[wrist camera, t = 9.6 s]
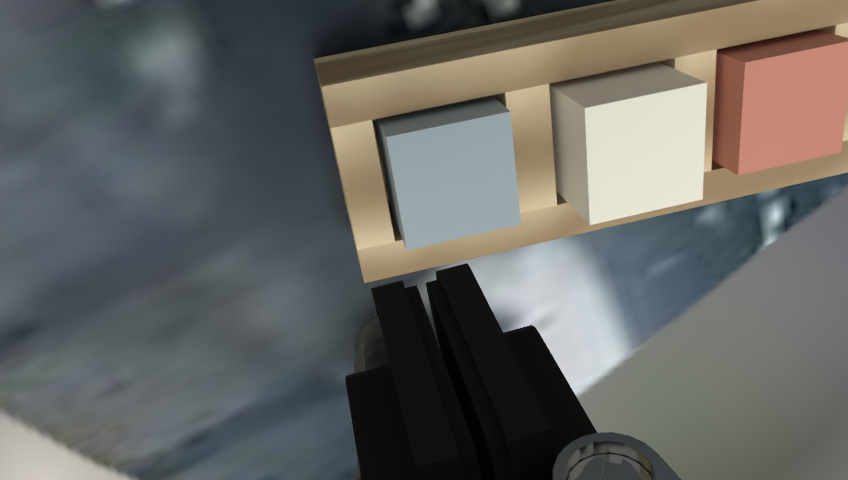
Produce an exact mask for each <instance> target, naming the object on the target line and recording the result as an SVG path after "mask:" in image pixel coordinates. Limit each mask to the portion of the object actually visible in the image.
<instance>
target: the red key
mask: <svg viewBox="0 0 848 480" xmlns="http://www.w3.org/2000/svg"><path fill="white" fill-rule="evenodd" d="M847 104H848V38H847V37H843V36H839V35H834V34H830V33H826V32H822V31H818V30H809V31H804V32H799V33H794V34H789V35H784V36H780V37H775V38H770V39H765V40H760V41H755V42H750V43H745V44H740V45H736V46H731V47H726V48H721V49H717V53H716V75H715V98H714V121H713V144H712V160H713V161H714V162H716V163H718V164H720V165H721V166H723V167H725V168H726V169H728V170H730V171H731V172H733V173H735V174H737V175H742V174H747V173H751V172H755V171H760V170H764V169H769V168H773V167H777V166H782V165H786V164H791V163H795V162H800V161H804V160H808V159H813V158H817V157H822V156H826V155H831V154H835V153H839V152H841V149H842V141H843V134H844V126H845V119H846V111H847Z"/></svg>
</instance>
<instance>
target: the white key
mask: <svg viewBox="0 0 848 480" xmlns="http://www.w3.org/2000/svg"><path fill="white" fill-rule="evenodd" d="M549 91H550V106H551V121H552V136H553V151H554V166H555V181H556V191H557V192H558V193H559V194H560V195H561V196H562V197H563V198H564V199H565V200H566V201H567V202H568V203H569V204H570V205H571V206H572V207H573V208H574V210H575V211H576V212H577V213H578V214H579V215H580V216H581V217H582V218H583V219H584V220H585V221H586V222H587V223H588V224H589V225H593V224H597V223H602V222H606V221H611V220H615V219H619V218H624V217H628V216H632V215H637V214H641V213H646V212H650V211H654V210H659V209H663V208H667V207H672V206H676V205H681V204H685V203H689V202H694V201H698V200H702V199H703V178H704V152H705V126H706V100H707V82H705V81H702V80H700V79H698V78H695V77H693V76H690V75H688V74H686V73H683V72H681V71H678V70H676V69H674V68H671V67H669V66H666V65H664V64H662V63H659V62H652V63H648V64H643V65H638V66H633V67H628V68H623V69H618V70H613V71H608V72H604V73H599V74H594V75H589V76H584V77H579V78H574V79H569V80H564V81H560V82H555V83H550V84H549Z"/></svg>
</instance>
